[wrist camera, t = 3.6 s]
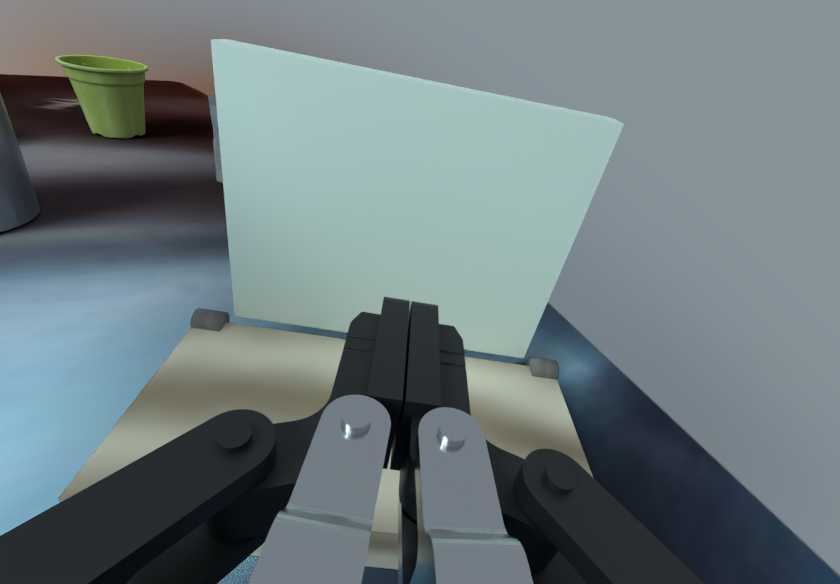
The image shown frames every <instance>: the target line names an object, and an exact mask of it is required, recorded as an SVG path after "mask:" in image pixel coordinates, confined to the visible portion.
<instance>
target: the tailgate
mask: <svg viewBox="0 0 840 584" xmlns="http://www.w3.org/2000/svg"><path fill="white" fill-rule="evenodd" d="M211 47H212V58H213V70H214V82H215V93H216V106H217V117H218V129H219V141H220V153H221V164H222V176H223V188H224V199H225V211H226V223H227V235H228V246H229V258H230V270H231V282H232V293H233V305H234V316H237V317H244V318H251V319H258V320H264V321H271V322H278V323H285V324H292V325H299V326H305V327H312V328H319V329H326V330H333V331H340V332H346V333H348V330H349V326H350V322H351V321H352V320H353V319H354V318H355V317H356V316H357V315H358V314H360V313H361V312H368V313H374V314H380V315H381V310H382V304H383V299H384V297H391V298H397V299H403V300H409V301H410V306H411V302H412V301H415V302H421V303H427V304H434V305H438V314H439V324H443V325H450V326H454V327H455V328H456V330H457V331H458V333H459V334H460V336H461V337H462V339H463V345H464V350H469V351H476V352H483V353H490V354H497V355H504V356H510V357H517V358H524V356H525V354H526V352H527V349H528V347H529V345H530V342H531V340H532V338H533V335H534V333H535V331H536V328H537V326H538V324H539V321H540V319H541V317H542V314H543V312H544V310H545V307H546V305H547V303H548V300H549V298H550V296H551V293H552V291H553V289H554V286H555V284H556V282H557V279H558V277H559V275H560V272H561V270H562V267H563V265H564V263H565V261H566V258H567V256H568V253H569V251H570V249H571V246H572V244H573V241H574V240H575V237H576V235H577V232H578V230H579V228H580V226H581V223H582V221H583V219H584V216H585V214H586V211H587V209H588V207H589V205H590V202H591V200H592V197H593V195H594V193H595V190H596V188H597V186H598V184H599V181H600V179H601V176H602V174H603V172H604V169H605V167H606V165H607V162H608V160H609V158H610V155H611V153H612V151H613V148H614V146H615V144H616V141H617V139H618V137H619V134H620V132H621V129H622V127H623V125H624V124H623V123H621V122H619V121H617V120H615V119H613V118H610V117H606V116H601V115H596V114H591V113H586V112H581V111H576V110H571V109H567V108H562V107H556V106H552V105H547V104H542V103H537V102H532V101H527V100H522V99H518V98H512V97H508V96H503V95H497V94H493V93H488V92H483V91H478V90H473V89H469V88H463V87H459V86H454V85H449V84H444V83H439V82H434V81H429V80H425V79H420V78H415V77H410V76H405V75H400V74H395V73H390V72H385V71H380V70H376V69H370V68H366V67H361V66H356V65H351V64H346V63H341V62H336V61H331V60H326V59H321V58H317V57H311V56H307V55H302V54H297V53H292V52H287V51H283V50H278V49H272V48H268V47H263V46H258V45H253V44H248V43H243V42H238V41H234V40H229V39H217V40H211ZM409 310H410V307H409Z"/></svg>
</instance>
